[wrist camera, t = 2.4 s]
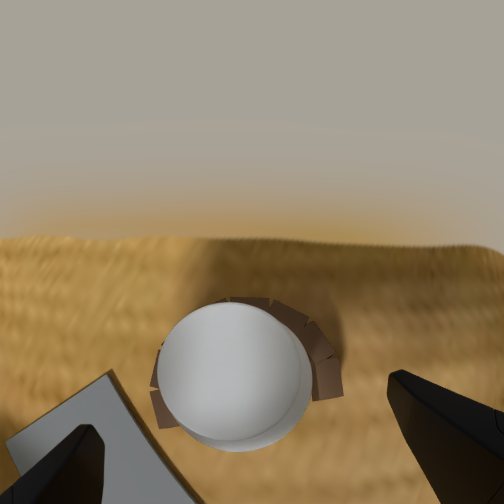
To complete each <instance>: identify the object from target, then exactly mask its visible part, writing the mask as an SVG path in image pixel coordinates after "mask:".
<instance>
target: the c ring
mask: <svg viewBox="0 0 504 504" xmlns="http://www.w3.org/2000/svg"><path fill="white" fill-rule="evenodd" d="M224 302H227V301H226V298H224V299H222V300H220V301H217V302H215V303H224ZM230 302H236V303H243V304H247V305H251V306H254V307H257V308H259V309H261V310H263V311H265V312H267V313H269V314H270V315H272V316H273V317H274V318H276V319H277V320H278V321H279V322H281V323H282V324H284V325H285V326H286V327H288V328H289V329H290V330H291V331H292V332H293V333H294V334H295V335H296V337H297V338H298V339H299V341H300V342H301V343H302V345H303V347H304V349H305V351H306V353H307V355H308V358H309V362H310V365H311V369H312V391H311V392H312V400H313V401H319V400H325V399H331V398H337V397H341V396H344V395H343V387H342V379H341V372H340V365H339V358H338V357H336V358H330V357H331V356H332V355H333V354H334V353H335V352H336V351H335V350H334V348H333V347H332V346H331V344H330V343H329V342H328V340H327V339H326V337H325V336H324V335H323V333H322V332H321V331H320V329H319V328H318V327H317V325H316V324H315V322H314V321H312V322H311V323H309V324H308V325H306V323H307V321H308V318H309V317H308V316H306V315H304V314H302V313H300V312H298V311H296V310H294V309H292V308H290V307H288V306H286V305H284V304H282V303H280V302H278V301H276V300H274V301H273V303H272V305H271V307H270V308H269V298H243V297H231V299H230ZM215 303H213V304H215ZM210 305H211V304H210ZM305 325H306V326H305ZM163 344H164V342H163V343H162V344H161V345H162V346H163ZM160 351H161V350H158V354H157V358H156V362H155V366H154V370H153V374H152V378H151V382H150V386H151V387H155V388H158V389H160V388H159V385H158V377H157V366H158V359H159V355H160ZM329 358H330V359H329ZM150 395H151V399H152V403H153V407H154V411H155V415H156V419H157V422H158V426H159V429H164V428H172V427H177V426H180V425H179V424H178V422H177V421H176V419H175V418H174V417H173V415H172V413H171V412H170V410H169V409H168V407H167V406H166V404H165V402H164V400H163V397H162V395H161V392H160V390H155V391H150Z"/></svg>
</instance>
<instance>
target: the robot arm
mask: <svg viewBox="0 0 504 504" xmlns="http://www.w3.org/2000/svg"><path fill="white" fill-rule="evenodd" d="M387 398H388V401H389V403H390V406H391V408H392V410H393V413H394V415H395V417H396V420H397V422H398V424H399V427H400V429H401V432H402V434H403V436H404V438H405V440H406V442H407V444H408V446H409V447H410V449H411V451H412V453H413V454H414V456H415V458H416V460H417V462H418V463H419V465H420V467H421V469H422V470H423V472H424V474H425V476H426V478H427V479H428V481H429V483H430V485H431V487H432V488H433V490H434V492H435V494H436V496H437V498H438V499H439V501H440V503H441V504H504V412H501V411H499V410H496V409H493V408H491V407H489V406H486V405H484V404H482V403H479V402H477V401H474V400H472V399H469V398H467V397H465V396H462V395H460V394H458V393H455V392H453V391H451V390H448V389H446V388H444V387H441V386H439V385H437V384H434V383H432V382H430V381H428V380H425V379H423V378H421V377H419V376H416V375H414V374H412V373H410V372H407V371H405V370H402V369H401V370H398V371H395V372H392V373H390V374H389V378H388V387H387ZM104 463H105V443H104V441H103V439H102V438H101V436H100V435H99V433H98V432H97V430H96V429H95V427H94V426H93V425H92V424H80V425H79V426H77V427H76V428H75V429H74V430H73V431H72V432H71V433H70V434H69V435H67V436H66V437H65V438H64V439H63V440H62V441H61V442H60V443H59V444H57V445H56V446H55V447H54V448H53V449H52V450H51V451H50V452H49V453H47V454H46V455H45V456H44V457H43V458H42V459H41V460H40V461H38V462H37V463H36V464H35V465H34V466H33V467H32V468H31V469H29V470H28V471H27V472H26V473H25V474H24V475H23V476H22V477H20V478H19V479H18V480H17V481H16V482H15V483H14V484H13V486H12V485H11V486H10V487H9V488H8V489H7V490H6V491H5V492H3V493H2V494H1V495H0V504H102V497H103V488H104Z"/></svg>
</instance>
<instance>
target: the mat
mask: <svg viewBox="0 0 504 504" xmlns="http://www.w3.org/2000/svg"><path fill="white" fill-rule="evenodd" d="M80 424H92V425H93V426H94V427H95V429H96V430H97V432H98V433H99V435H100V436H101V438H102V439H103V441H104V443H105V463H104V488H103V497H102V504H198V503H197V502H196V501H195V500H194V498H193V497H192V496H191V495H190V494H189V492H188V491H187V490H186V489H185V487H184V486H183V485H182V484H181V483H180V481H179V480H178V479H177V477H176V476H175V475H174V474H173V472H172V471H171V470H170V468H169V467H168V466H167V464H166V463H165V462H164V460H163V459H162V458H161V456H160V455H159V453H158V452H157V451H156V449H155V448H154V446H153V445H152V444H151V442H150V441H149V439H148V438H147V436H146V435H145V433H144V432H143V430H142V429H141V427H140V426H139V424H138V423H137V421H136V419H135V418H134V416H133V415H132V413H131V412H130V410H129V408H128V407H127V405H126V403H125V402H124V400H123V398H122V397H121V395H120V393H119V392H118V390H117V388H116V386H115V385H114V383H113V381H112V379H111V378H110V376H109V375H107V374H106V375H104V376H103V377H101V378H100V379H98V380H97V381H96V382H94V383H93V384H91V385H90V386H88V387H87V388H85V389H84V390H82V391H81V392H79V393H78V394H76V395H75V396H73V397H72V398H70V399H69V400H67V401H66V402H64V403H63V404H61V405H60V406H59V407H57V408H56V409H54V410H53V411H51V412H50V413H48V414H47V415H45V416H44V417H42V418H41V419H39V420H38V421H36V422H34V423H33V424H31V425H30V426H28V427H27V428H25V429H24V430H22V431H21V432H19V433H18V434H16V435H15V436H13V437H12V438H10V439H9V440H7V441H6V442H5V444H6V446H7V448H8V450H9V453H10V455H11V457H12V459H13V461H14V463H15V465H16V467H17V469H18V471H19V473H20V475H21V477H22V476H23V475H24V474H25V473H26V472H27V471H28V470H29V469H31V468H32V467H33V466H34V465H35V464H36V463H37V462H38V461H40V460H41V459H42V458H43V457H44V456H45V455H46V454H47V453H49V452H50V451H51V450H52V449H53V448H54V447H55V446H56V445H57V444H59V443H60V442H61V441H62V440H63V439H64V438H65V437H66V436H67V435H69V434H70V433H71V432H72V431H73V430H74V429H75V428H76V427H77V426H79V425H80Z"/></svg>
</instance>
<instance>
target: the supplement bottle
mask: <svg viewBox="0 0 504 504" xmlns="http://www.w3.org/2000/svg"><path fill="white" fill-rule="evenodd" d="M157 377H158V385H159V388H160V392H161V395H162V397H163V400H164V402H165V404H166V406H167V407H168V409H169V410H170V412H171V413H172V415H173V417H174V418H175V419H176V421H177V422H178V424H179V425H180V426H181V427H182V428H183V429H184V430H185V431H186V432H187V433H188V434H189V435H191V436H192V437H193V438H195V439H196V440H198V441H200V442H201V443H203V444H205V445H207V446H210V447H212V448H215V449H219V450H223V451H230V452H246V451H252V450H257V449H260V448H263V447H266V446H269V445H271V444H273V443H275V442H276V441H278V440H280V439H281V438H283V437H284V436H285V435H286V434H288V433H289V432H290V431H291V430H292V429H293V428H294V427H295V426H296V424H297V423H298V422H299V421H300V419H301V417H302V416H303V414H304V412H305V410H306V408H307V406H308V403H309V400H310V396H311V391H312V369H311V365H310V362H309V358H308V355H307V353H306V351H305V349H304V347H303V345H302V343H301V342H300V341H299V339H298V338H297V337H296V335H295V334H294V333H293V332H292V331H291V330H290V329H289V328H288V327H286V326H285V325H284V324H282V323H281V322H279V321H278V320H277V319H276V318H274V317H273V316H272V315H270V314H269V313H267V312H265V311H263V310H261V309H259V308H257V307H254V306H251V305H247V304H243V303H236V302H224V303H215V304H211V305H208V306H204V307H202V308H199V309H197V310H195V311H193V312H191V313H190V314H188V315H187V316H186V317H184V318H183V319H182V320H181V321H180V322H179V323H178V324H176V325H175V327H174V328H173V329H172V330H171V332H170V333H169V335H168V336H167V338H166V339H165V341H164V344H163V346H162V348H161V351H160V355H159V359H158V366H157Z"/></svg>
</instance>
